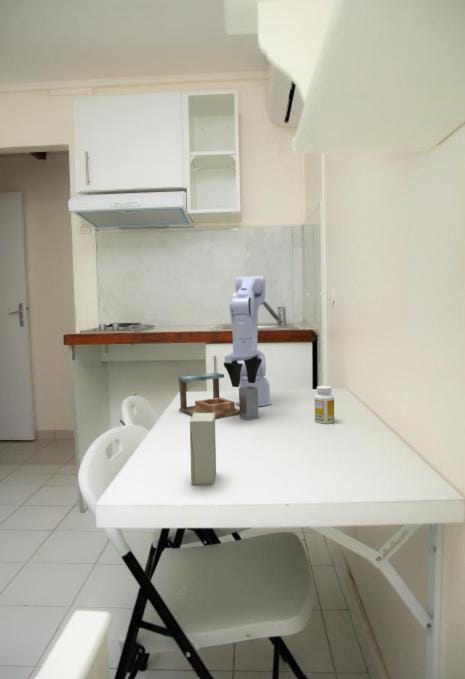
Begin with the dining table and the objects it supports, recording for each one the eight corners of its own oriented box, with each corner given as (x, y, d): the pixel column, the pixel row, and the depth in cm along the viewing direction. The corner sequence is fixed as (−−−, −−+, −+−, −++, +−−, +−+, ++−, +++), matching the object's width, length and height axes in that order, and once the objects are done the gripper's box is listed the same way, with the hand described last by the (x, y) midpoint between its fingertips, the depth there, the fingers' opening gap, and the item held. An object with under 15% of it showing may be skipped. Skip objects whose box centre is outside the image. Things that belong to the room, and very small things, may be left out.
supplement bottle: (333, 418, 125) (332, 385, 125) (335, 423, 120) (335, 388, 119) (314, 418, 126) (313, 385, 125) (315, 423, 121) (315, 388, 120)
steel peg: (251, 415, 132) (250, 386, 131) (258, 418, 128) (257, 388, 128) (239, 417, 130) (238, 387, 129) (246, 420, 126) (246, 389, 126)
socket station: (217, 405, 148) (216, 372, 147) (242, 414, 134) (241, 378, 133) (179, 411, 141) (178, 377, 140) (202, 421, 127) (200, 383, 126)
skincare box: (195, 472, 87) (192, 412, 86) (217, 472, 87) (215, 412, 86) (190, 485, 81) (188, 420, 80) (214, 485, 81) (212, 420, 80)
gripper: (246, 336, 136) (247, 380, 137) (215, 340, 125) (217, 387, 126) (265, 337, 131) (266, 381, 132) (235, 340, 120) (236, 389, 121)
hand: (243, 384), depth 129 cm, fingers open, 7 cm apart
